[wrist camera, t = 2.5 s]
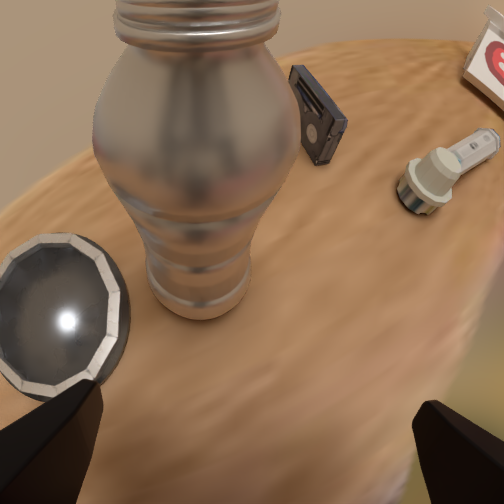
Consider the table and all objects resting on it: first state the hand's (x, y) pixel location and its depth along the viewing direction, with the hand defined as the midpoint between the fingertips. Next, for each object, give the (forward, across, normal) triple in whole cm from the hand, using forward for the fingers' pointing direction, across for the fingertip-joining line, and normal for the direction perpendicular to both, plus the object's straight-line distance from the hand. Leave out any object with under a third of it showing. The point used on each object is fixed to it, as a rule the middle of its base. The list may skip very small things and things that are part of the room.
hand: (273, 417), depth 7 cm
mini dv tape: (+26, -4, -8) cm, 28 cm away
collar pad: (+12, +14, +6) cm, 20 cm away
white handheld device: (+27, -24, -9) cm, 38 cm away
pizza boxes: (+51, -51, -35) cm, 80 cm away
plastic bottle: (+15, +3, +3) cm, 16 cm away
